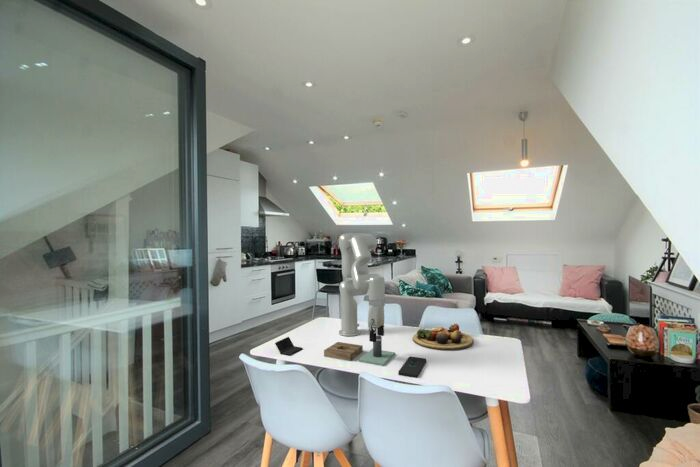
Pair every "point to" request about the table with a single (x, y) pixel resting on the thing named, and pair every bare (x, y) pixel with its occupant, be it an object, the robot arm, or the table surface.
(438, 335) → the wooden plate with food
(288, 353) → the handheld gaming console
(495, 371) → the table surface
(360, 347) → the wooden block with hole
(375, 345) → the plug
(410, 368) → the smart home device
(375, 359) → the mat
